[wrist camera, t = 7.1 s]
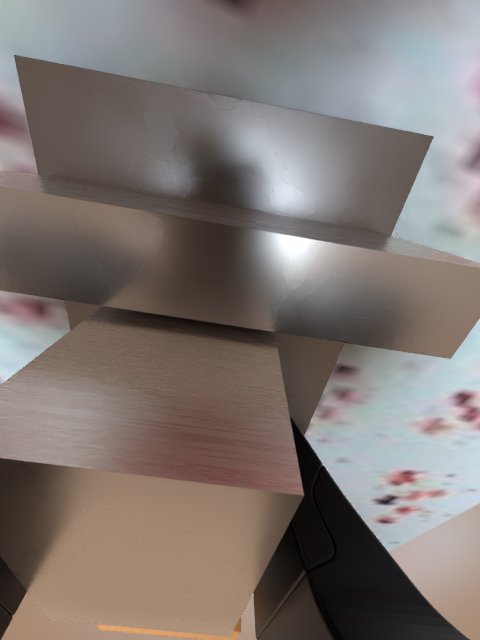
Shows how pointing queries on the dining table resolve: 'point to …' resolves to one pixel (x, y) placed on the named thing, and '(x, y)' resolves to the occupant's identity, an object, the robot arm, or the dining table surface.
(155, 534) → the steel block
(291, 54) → the dining table surface
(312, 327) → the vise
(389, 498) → the dining table surface
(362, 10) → the dining table surface
